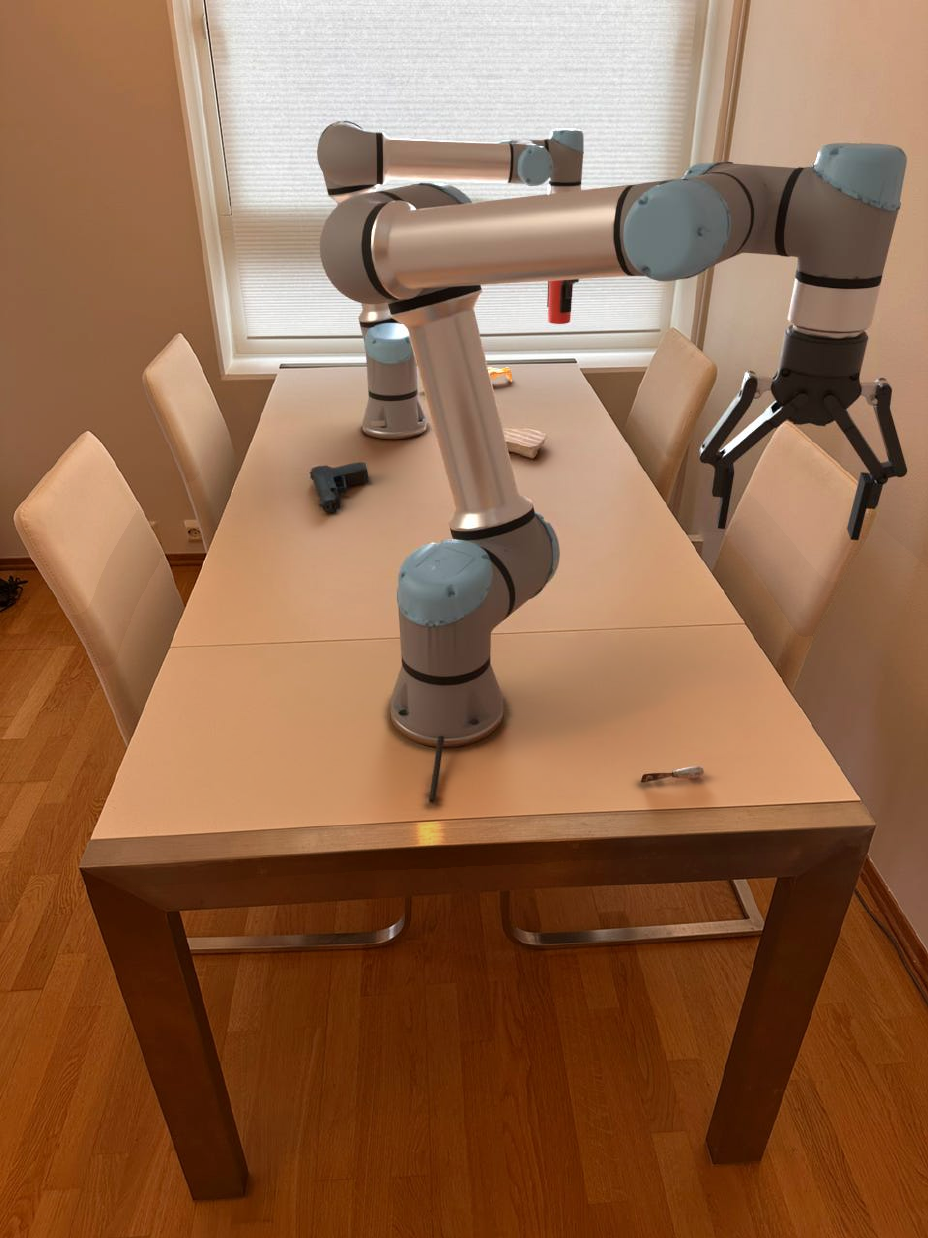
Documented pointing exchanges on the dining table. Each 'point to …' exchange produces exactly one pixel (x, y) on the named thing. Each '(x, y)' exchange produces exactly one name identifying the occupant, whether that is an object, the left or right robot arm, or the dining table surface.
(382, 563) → the dining table surface
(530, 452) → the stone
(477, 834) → the dining table surface
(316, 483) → the handgun
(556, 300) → the can
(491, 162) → the left robot arm
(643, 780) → the putty knife
